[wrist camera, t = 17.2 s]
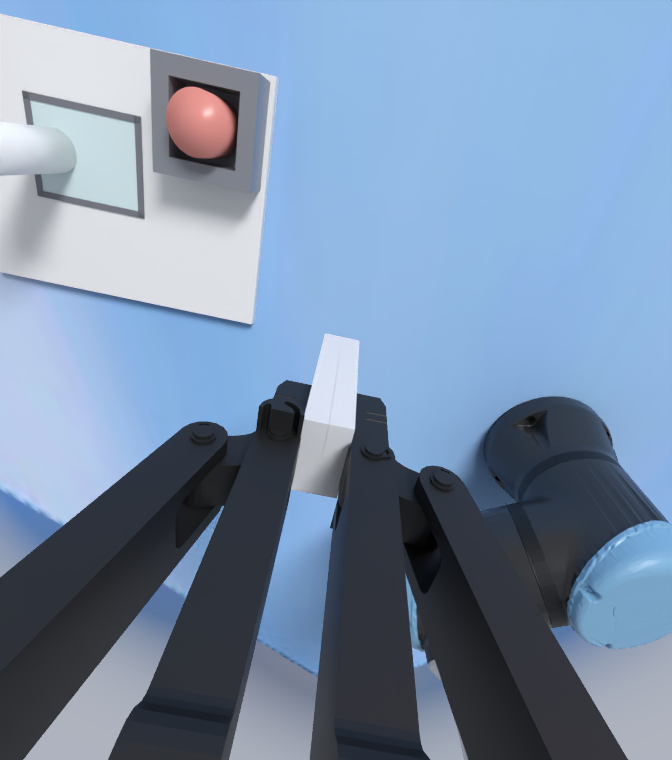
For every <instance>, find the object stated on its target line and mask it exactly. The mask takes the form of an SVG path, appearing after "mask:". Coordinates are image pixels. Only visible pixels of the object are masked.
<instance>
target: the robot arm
mask: <svg viewBox="0 0 672 760" xmlns="http://www.w3.org/2000/svg"><path fill="white" fill-rule="evenodd" d="M358 358H359V340H354V339H349V338H345V337H340V336H335V335H330V334H326V333H325V336H324V340H323V344H322V348H321V352H320V356H319V359H318V363H317V367H316V371H315V375H314V379H313V383H312V385H308V384H303V383H298V382H293V381H288V380H286V381H285V382H283V383H282V384H280V385H279V386H278V388H277V390H276V393H275V395H274V398H273V399H268V400H266V401H264V402H262V403H261V405H260V406H259V411H258V420H257V428H256V431H255V432H253V433H251V434H247V435H240V436H228V434H227V431H226V430H225V429H224V427H222V426H220V425H218V424H216V423H212V422H195V423H191V424H189V425H187V426H185V427H183V428H182V429H181V430H179V431H178V432H177V433H176V434H175V435H173V436H172V437H171V438H170V439H169V440H167V441H166V442H165V443H164V444H162V445H161V446H160V447H159V448H158V449H156V450H155V451H154V452H153V453H151V454H150V455H149V456H148V457H147V458H145V459H144V460H143V461H142V462H140V463H139V464H138V465H137V466H136V467H134V468H133V469H132V470H131V471H130V472H128V473H127V474H126V475H125V476H123V477H122V478H121V479H120V480H119V481H117V482H116V483H115V484H114V485H112V486H111V487H110V488H109V489H108V490H106V491H105V492H104V493H103V494H101V495H100V496H99V497H98V498H97V499H95V500H94V501H93V502H92V503H91V504H89V505H88V506H87V507H86V508H84V509H83V510H82V511H81V512H80V513H78V514H77V515H76V516H75V517H73V518H72V519H71V520H70V521H69V522H67V523H66V524H65V525H64V526H63V527H61V528H60V529H59V530H58V531H56V532H55V533H54V534H53V535H52V536H50V537H49V538H48V539H47V540H45V541H44V542H43V543H42V544H41V545H40V546H38V547H37V548H36V549H34V550H33V551H32V552H31V553H30V554H28V555H27V556H26V557H25V558H24V559H22V560H21V561H20V562H19V563H17V564H16V565H15V566H14V567H13V568H11V569H10V570H9V571H8V572H7V573H5V574H4V575H3V576H2V577H0V760H23V759H24V758H25V757H26V755H27V754H28V753H29V751H30V750H31V749H32V748H33V746H34V745H35V744H36V743H37V741H38V740H39V739H40V737H41V736H42V735H43V734H44V733H45V731H46V730H47V729H48V727H49V726H50V725H51V724H52V722H53V721H54V720H55V719H56V717H57V716H58V715H59V714H60V712H61V711H62V710H63V708H64V707H65V706H66V705H67V703H68V702H69V701H70V700H71V698H72V697H73V696H74V695H75V693H76V692H77V691H78V689H79V688H80V687H81V686H82V684H83V683H84V682H85V681H86V679H87V678H88V677H89V676H90V674H91V673H92V672H93V670H94V669H95V668H96V667H97V665H98V664H99V663H100V662H101V660H102V659H103V658H104V657H105V655H106V654H107V653H108V651H109V650H110V649H111V647H112V646H113V645H114V644H115V643H116V641H117V640H118V639H119V638H120V636H121V635H122V634H123V633H124V631H125V630H126V629H127V628H128V626H129V625H130V624H131V622H132V621H133V620H134V619H135V617H136V616H137V615H138V613H139V612H140V611H141V610H142V608H143V607H144V606H145V605H146V603H147V602H148V601H149V600H150V598H151V597H152V596H153V595H154V593H155V592H156V591H157V590H158V588H159V587H160V586H161V585H162V583H163V582H164V581H165V579H166V578H167V577H168V576H169V574H170V573H171V572H172V571H173V569H174V568H175V567H176V566H177V564H178V563H179V562H180V560H181V559H182V558H183V557H184V555H185V554H186V553H187V552H188V550H189V549H190V548H191V547H192V545H193V544H194V543H195V542H196V540H197V539H198V538H199V536H200V535H201V534H202V533H203V531H204V530H205V529H206V528H207V526H208V525H209V524H210V523H211V521H212V520H213V519H214V517H215V516H216V515H217V514H218V512H219V511H220V509H221V507H222V506H224V508H223V511H222V513H221V516H220V518H219V520H218V523H217V525H216V528H215V530H214V532H213V535H212V537H211V540H210V542H209V544H208V547H207V549H206V552H205V554H204V556H203V559H202V561H201V564H200V566H199V568H198V571H197V573H196V576H195V578H194V580H193V583H192V585H191V588H190V590H189V592H188V595H187V597H186V600H185V602H184V604H183V607H182V609H181V612H180V614H179V617H178V619H177V621H176V624H175V626H174V629H173V631H172V633H171V636H170V638H169V641H168V643H167V645H166V648H165V650H164V653H163V655H162V657H161V660H160V662H159V665H158V667H157V670H156V672H155V674H154V677H153V679H152V681H151V684H150V686H149V689H148V691H147V693H146V695H145V696H144V698H143V700H142V701H141V702H140V703H139V704H138V705H137V706H135V707H134V708H133V710H132V711H131V713H130V715H129V717H128V718H127V719H126V721H125V724H124V726H123V728H122V730H121V732H120V734H119V737H118V738H117V740H116V743H115V745H114V747H113V750H112V752H111V754H110V757H109V759H108V760H229V757H230V752H231V748H232V744H233V739H234V735H235V731H236V726H237V722H238V718H239V713H240V709H241V704H242V701H243V696H244V692H245V687H246V683H247V679H248V674H249V670H250V666H251V662H252V657H253V653H254V649H255V644H256V640H257V636H258V631H259V627H260V623H261V619H262V614H263V610H264V606H265V601H266V597H267V593H268V588H269V584H270V580H271V575H272V571H273V567H274V562H275V558H276V554H277V549H278V545H279V541H280V536H281V532H282V528H283V524H284V519H285V515H286V511H287V506H288V502H289V497H290V491H291V489H292V490H297V491H302V492H307V493H312V494H317V495H322V496H327V497H332V498H337V495H338V500H337V504H336V508H335V511H334V515H333V519H332V523H331V526H330V528H332V529H333V532H332V542H331V552H330V562H329V572H328V582H327V592H326V602H325V612H324V622H323V632H322V642H321V652H320V662H319V672H318V683H317V692H316V702H315V713H314V722H313V732H312V742H311V753H310V760H430V759H429V757H428V756H427V755H426V754H425V752H424V751H423V749H422V745H421V741H420V734H419V723H418V712H417V701H416V690H415V679H414V667H413V655H412V647H413V648H414V649H418V650H420V651H425V653H426V658H427V663H428V668H429V670H430V671H431V672H432V673H433V674H435V675H436V676H437V677H438V678H439V679H440V680H441V681H442V683H443V686H444V689H445V692H446V695H447V698H448V701H449V704H450V707H451V709H452V713H453V716H454V719H455V721H456V724H457V728H458V733H459V738H460V742H461V747H462V751H463V757H464V760H628V759H627V757H626V756H625V754H624V752H623V751H622V749H621V748H620V746H619V744H618V743H617V741H616V739H615V737H614V735H613V734H612V732H611V730H610V729H609V727H608V725H607V724H606V722H605V720H604V719H603V717H602V715H601V714H600V712H599V710H598V709H597V707H596V705H595V704H594V702H593V700H592V699H591V697H590V695H589V694H588V692H587V690H586V688H585V687H584V685H583V684H582V682H581V680H580V678H579V677H578V675H577V673H576V672H575V670H574V668H573V667H572V665H571V664H570V662H569V660H568V658H567V657H566V655H565V653H564V651H563V650H562V648H561V646H560V645H559V643H558V641H557V640H556V638H555V636H554V635H553V633H552V632H551V630H550V628H555V627H561V626H568V625H571V627H572V629H573V630H574V631H575V632H576V633H577V634H578V635H579V636H580V637H581V638H582V639H583V640H585V641H586V642H588V643H590V644H592V645H595V646H598V647H601V646H603V645H605V646H606V647H608V648H610V649H623V648H631V647H636V646H640V645H643V644H647V643H650V642H653V641H655V640H658V639H660V638H662V637H664V636H666V635H668V634H670V633H671V632H672V524H670V523H669V522H668V521H667V520H666V519H665V517H664V516H663V515H662V514H661V513H660V512H659V510H658V509H657V508H656V507H655V506H654V505H653V503H652V502H651V501H650V500H649V499H648V497H647V496H646V495H645V494H644V493H643V492H642V490H641V489H640V488H639V487H638V486H637V485H636V483H635V482H634V481H633V480H632V479H631V478H630V476H629V475H628V474H627V473H626V472H625V471H624V469H623V468H622V467H621V466H620V465H619V463H618V460H617V456H616V453H615V451H614V449H613V444H612V438H611V435H610V432H609V429H608V428H607V426H606V424H605V423H604V422H603V420H602V419H601V418H600V417H599V416H598V415H597V414H596V413H595V412H594V411H593V410H592V409H591V408H590V407H589V406H587V405H586V404H584V403H582V402H580V401H577V400H574V399H570V398H565V397H543V398H538V399H534V400H530V401H527V402H524V403H522V404H520V405H518V406H516V407H514V408H512V409H511V410H509V411H508V412H506V413H505V414H504V415H502V416H501V417H500V418H499V419H498V420H497V421H496V422H495V424H494V425H493V426H492V428H491V429H490V431H489V433H488V435H487V437H486V440H485V445H484V456H485V460H486V463H487V465H488V468H489V470H490V473H491V475H492V476H493V478H494V479H495V481H496V482H497V483H498V484H499V485H500V486H501V487H502V488H503V489H504V490H505V491H506V492H507V493H508V494H509V495H510V496H511V497H512V498H513V499H514V500H515V501H516V502H517V503H514V504H510V505H504V506H500V507H496V508H492V509H488V510H484V511H480V510H479V509H478V507H477V505H476V503H475V502H474V500H473V498H472V497H471V495H470V493H469V492H468V490H467V488H466V487H465V485H464V483H463V482H462V481H461V479H460V478H459V477H458V476H457V475H456V474H454V473H453V472H451V471H450V470H447V469H445V468H443V467H438V466H427V467H425V468H423V469H422V470H421V471H420V473H417V472H415V471H413V470H411V469H408V468H406V467H404V466H403V465H401V464H400V463H398V462H397V461H396V460H395V455H394V453H393V451H392V450H391V449H390V447H389V444H388V430H387V417H386V406H385V405H384V403H383V402H382V401H381V399H380V398H376V397H371V396H366V395H362V394H357V378H358ZM338 491H339V493H338Z"/></svg>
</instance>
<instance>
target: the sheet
mask: <svg viewBox="0 0 672 760" xmlns="http://www.w3.org/2000/svg"><path fill="white" fill-rule="evenodd" d="M151 49H153V48H151ZM155 50H157V49H155ZM159 51H161V50H159ZM164 52H166V51H164ZM168 53H170V52H168ZM173 54H175V53H173ZM177 55H179V54H177ZM181 56H183V55H181ZM186 57H188V56H186ZM190 58H192V57H190ZM195 59H197V58H195ZM199 60H201V59H199ZM203 61H205V60H203ZM208 62H210V61H208ZM212 63H214V62H212ZM217 64H219V63H217ZM221 65H223V64H221ZM225 66H227V65H225ZM230 67H232V66H230ZM234 68H236V67H234ZM239 69H241V68H239ZM243 70H245V69H243ZM247 71H249V70H247ZM252 72H254V71H252ZM256 73H258V72H256ZM260 74H261V75H262V76H264V77H265V78H266V79H267V80H268V81H270V91H269V102H268V113H267V123H266V134H265V145H264V156H263V166H262V177H261V188H260V191H256V192H252V193H248V192H243V191H239V190H234V189H230V188H225V187H220V186H216V185H211V184H207V183H202V182H197V181H193V180H188V179H184V178H179V177H175V176H170V175H165V174H161V173H156V172H153V157H152V116H151V75H150V48H148V47H144V46H139V45H135V44H131V43H126V42H122V41H117V40H113V39H109V38H104V37H100V36H95V35H91V34H87V33H82V32H78V31H73V30H69V29H65V28H60V27H56V26H51V25H47V24H43V23H38V22H34V21H29V20H25V19H21V18H16V17H12V16H7V15H3V14H0V122H7V123H17V124H26V125H36V126H46V127H54V128H57V129H59V130H61V131H62V132H64V133H65V134H66V135H67V136H68V137H69V138H70V140H71V141H72V143H73V145H74V147H75V150H76V156H77V160H76V164H75V167H74V168H73V169H72V170H71V171H70V172H68V173H58V174H32V175H7V176H0V272H2V273H7V274H12V275H17V276H21V277H26V278H31V279H36V280H41V281H45V282H50V283H55V284H60V285H65V286H69V287H74V288H79V289H84V290H89V291H93V292H98V293H103V294H108V295H113V296H117V297H122V298H127V299H132V300H137V301H142V302H146V303H151V304H156V305H161V306H166V307H170V308H175V309H180V310H185V311H190V312H194V313H199V314H204V315H209V316H214V317H218V318H223V319H228V320H233V321H238V322H242V323H247V324H253V323H254V321H255V312H256V302H257V292H258V282H259V273H260V263H261V253H262V243H263V233H264V223H265V213H266V203H267V194H268V184H269V174H270V164H271V154H272V144H273V134H274V124H275V114H276V105H277V95H278V85H279V79H278V78H277V77H276V76H271V75H267V74H263V73H260Z"/></svg>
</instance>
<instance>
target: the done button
mask: <svg viewBox="0 0 672 760" xmlns="http://www.w3.org/2000/svg"><path fill="white" fill-rule="evenodd" d="M166 123H167V128H168V131H169V134H170V136H171V138H172V140H173V141H174V143H175V144H176V145H177V147H178V148H179V149H180V150H181V151H183V152H184V153H186V154H187V155H189V156H191V157H195V158H208V159H221V158H225V157H227V156H229V155H230V154H232V153H233V152H234V151H235V149H236V148H237V133H238V116H237V114H236V112H235V110H234V109H233V107H232V106H231V105H230V104H229V103H228V102H227V101H226V100H224V99H223V98H221V97H219V96H216V95H214V94H212V93H210V92H207V91H205V90H203V89H201V88H198V87H185V88H182V89H180V90H178V91H177V92H176V93H175V94H174V95H173V96H172V97H171V99H170V101H169V103H168V106H167V111H166Z"/></svg>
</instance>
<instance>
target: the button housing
mask: <svg viewBox="0 0 672 760" xmlns="http://www.w3.org/2000/svg"><path fill="white" fill-rule="evenodd" d="M150 75H151V116H152V157H153V172H156V173H161V174H165V175H170V176H175V177H179V178H184V179H188V180H193V181H197V182H202V183H207V184H211V185H216V186H220V187H225V188H230V189H234V190H239V191H243V192H248V193H252V192H256V191H260V188H261V177H262V166H263V156H264V145H265V134H266V123H267V113H268V102H269V91H270V81H268V80H267V79H266V78H265V77H264V76H262V75H261V74H260V73H256V72H252V71H247V70H243V69H239V68H234V67H230V66H225V65H221V64H217V63H212V62H208V61H203V60H199V59H195V58H190V57H186V56H181V55H177V54H173V53H168V52H164V51H159V50H155V49H151V48H150ZM185 87H198V88H201V89H203V90H205V91H207V92H210V93H212V94H214V95H216V96H219V97H221V98H223V99H224V100H226V101H227V102H228V103H229V104H230V105H231V106H232V107H233V109H234V110H235V112H236V114H237V116H238V133H237V148H236V149H235V151H234V152H233V153H232V154H230V155H229V156H227V157H225V158H221V159H208V158H195V157H191V156H189V155H187V154H186V153H184V152H183V151H181V150H180V149H179V148H178V147H177V145H176V144H175V143H174V141H173V140H172V138H171V136H170V134H169V131H168V128H167V123H166V111H167V106H168V103H169V101H170V99H171V97H172V96H173V95H174V94H175V93H176V92H177V91H178V90H180V89H182V88H185Z"/></svg>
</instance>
